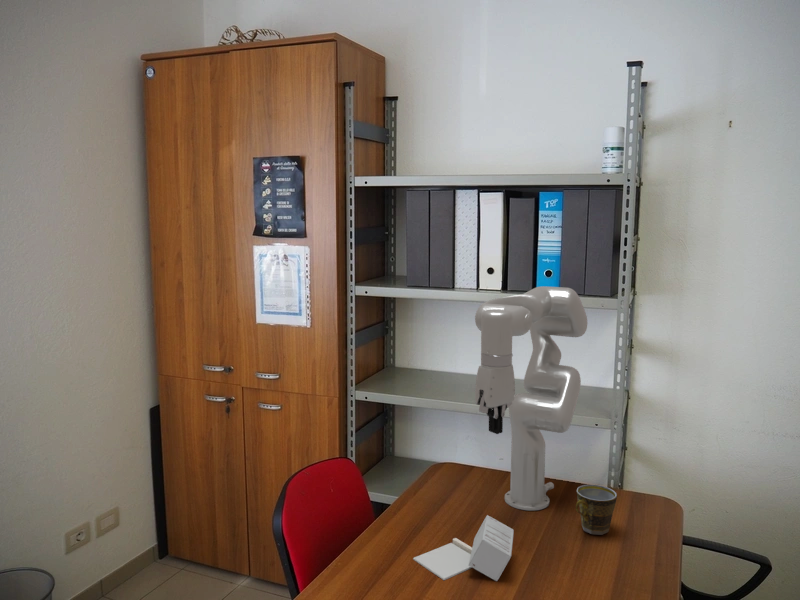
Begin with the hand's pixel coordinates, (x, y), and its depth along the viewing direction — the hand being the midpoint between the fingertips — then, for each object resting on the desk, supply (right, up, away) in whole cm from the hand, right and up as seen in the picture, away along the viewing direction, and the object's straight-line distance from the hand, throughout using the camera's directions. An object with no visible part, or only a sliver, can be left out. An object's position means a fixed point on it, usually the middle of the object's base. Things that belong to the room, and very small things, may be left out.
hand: (495, 431), depth 156 cm
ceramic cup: (+26, -27, +7) cm, 38 cm away
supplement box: (-1, -24, -5) cm, 24 cm away
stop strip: (-7, -28, -4) cm, 29 cm away
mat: (-13, -29, -8) cm, 32 cm away
